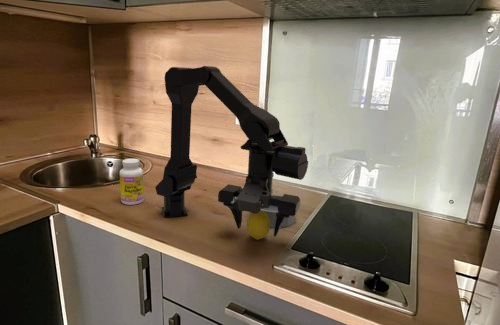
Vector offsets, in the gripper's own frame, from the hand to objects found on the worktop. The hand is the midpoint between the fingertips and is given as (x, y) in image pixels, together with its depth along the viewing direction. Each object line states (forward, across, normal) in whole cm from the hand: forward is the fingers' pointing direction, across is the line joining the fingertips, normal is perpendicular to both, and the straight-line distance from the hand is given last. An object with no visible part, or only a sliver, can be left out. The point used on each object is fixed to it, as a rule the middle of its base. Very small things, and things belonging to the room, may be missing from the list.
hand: (256, 231), depth 78 cm
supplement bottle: (+2, -42, +7) cm, 43 cm away
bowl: (+2, 0, +14) cm, 14 cm away
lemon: (+2, 0, 0) cm, 3 cm away
